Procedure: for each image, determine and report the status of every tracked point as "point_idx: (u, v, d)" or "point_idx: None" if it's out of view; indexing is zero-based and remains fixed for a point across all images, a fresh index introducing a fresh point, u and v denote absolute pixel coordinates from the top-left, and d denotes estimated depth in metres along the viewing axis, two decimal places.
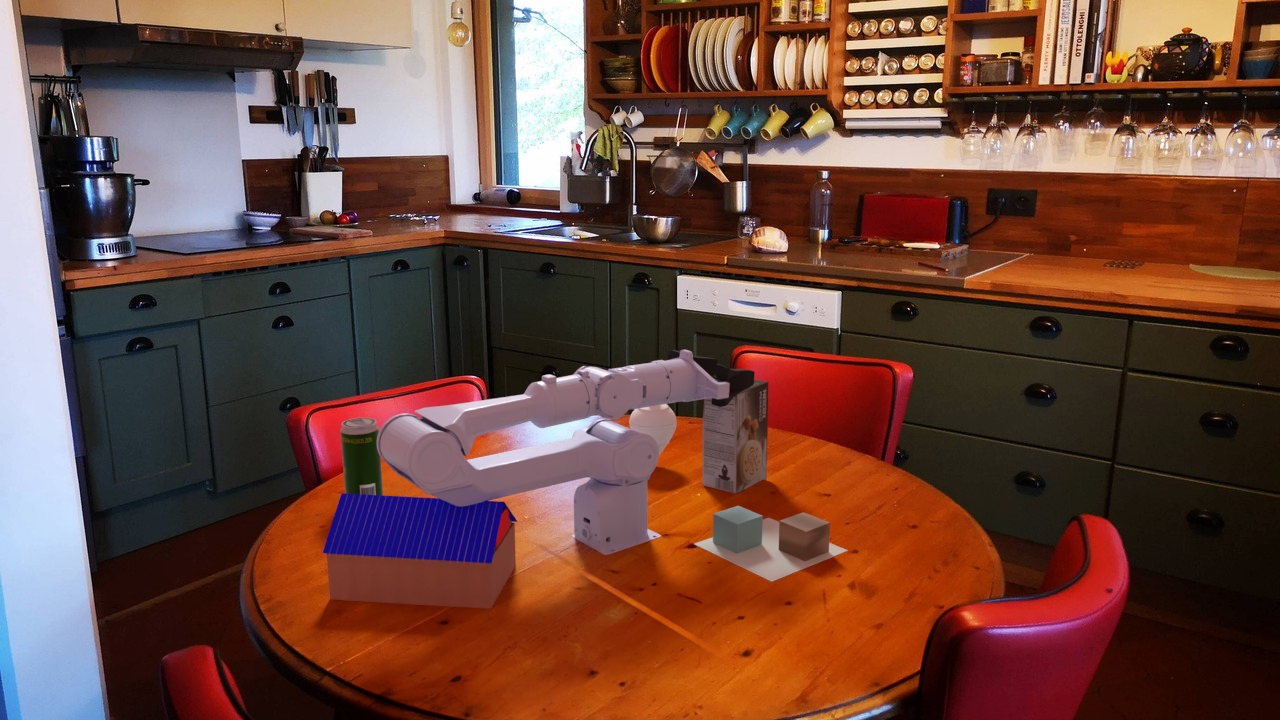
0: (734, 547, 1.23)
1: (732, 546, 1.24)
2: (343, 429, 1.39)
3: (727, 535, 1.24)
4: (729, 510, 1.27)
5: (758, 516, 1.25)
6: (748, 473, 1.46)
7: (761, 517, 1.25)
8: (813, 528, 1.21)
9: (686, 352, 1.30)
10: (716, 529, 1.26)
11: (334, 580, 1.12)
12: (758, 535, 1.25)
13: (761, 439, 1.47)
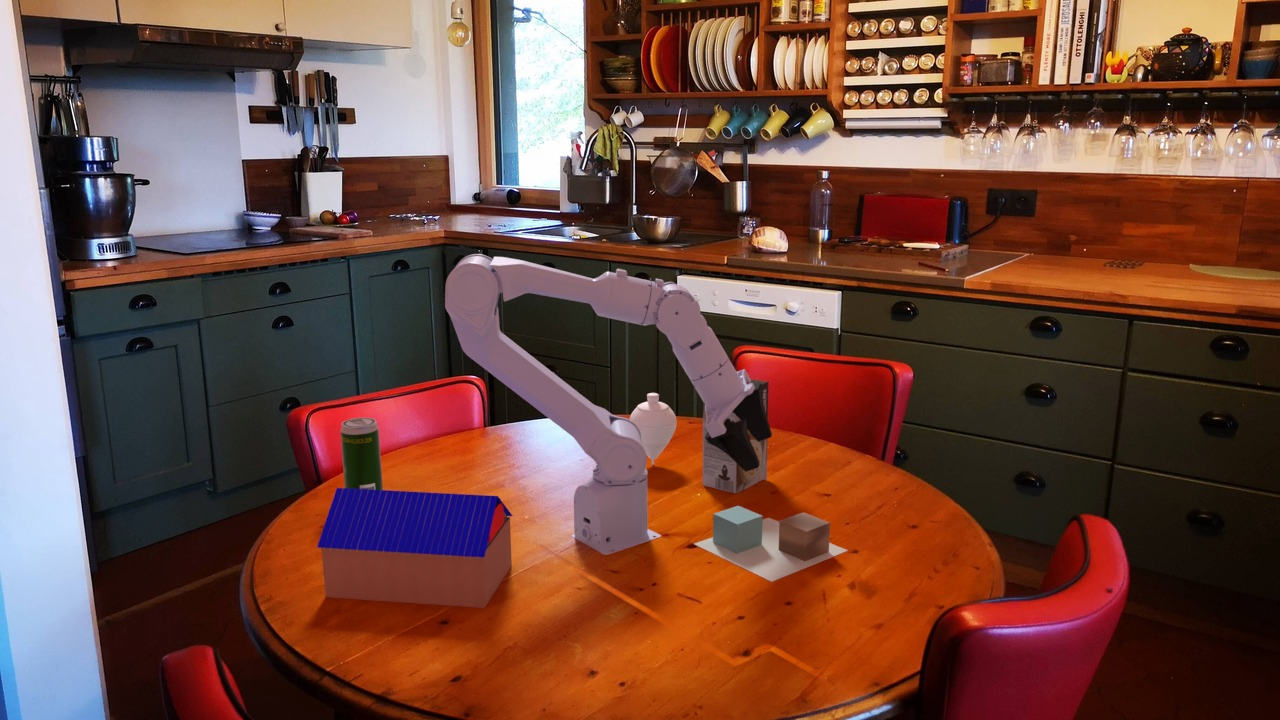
0: (734, 547, 1.23)
1: (732, 546, 1.24)
2: (343, 429, 1.39)
3: (727, 535, 1.24)
4: (729, 510, 1.27)
5: (758, 516, 1.25)
6: (748, 473, 1.46)
7: (761, 517, 1.25)
8: (813, 528, 1.21)
9: (750, 387, 1.24)
10: (716, 529, 1.26)
11: (329, 574, 1.13)
12: (758, 535, 1.25)
13: None
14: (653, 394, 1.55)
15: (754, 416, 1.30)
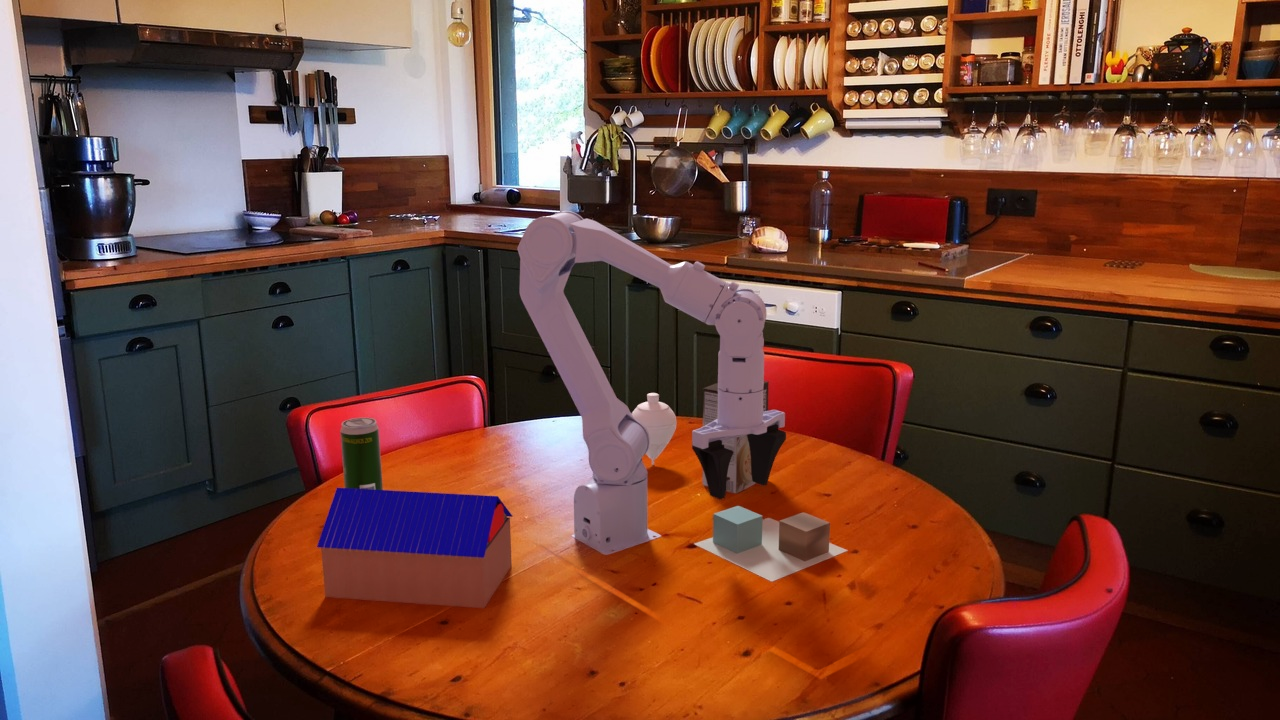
0: (734, 547, 1.23)
1: (732, 546, 1.24)
2: (343, 429, 1.39)
3: (727, 535, 1.24)
4: (729, 510, 1.27)
5: (758, 516, 1.25)
6: (748, 473, 1.46)
7: (761, 517, 1.25)
8: (813, 528, 1.21)
9: (759, 428, 1.19)
10: (716, 529, 1.26)
11: (329, 574, 1.13)
12: (758, 535, 1.25)
13: None
14: (653, 394, 1.55)
15: (761, 457, 1.26)
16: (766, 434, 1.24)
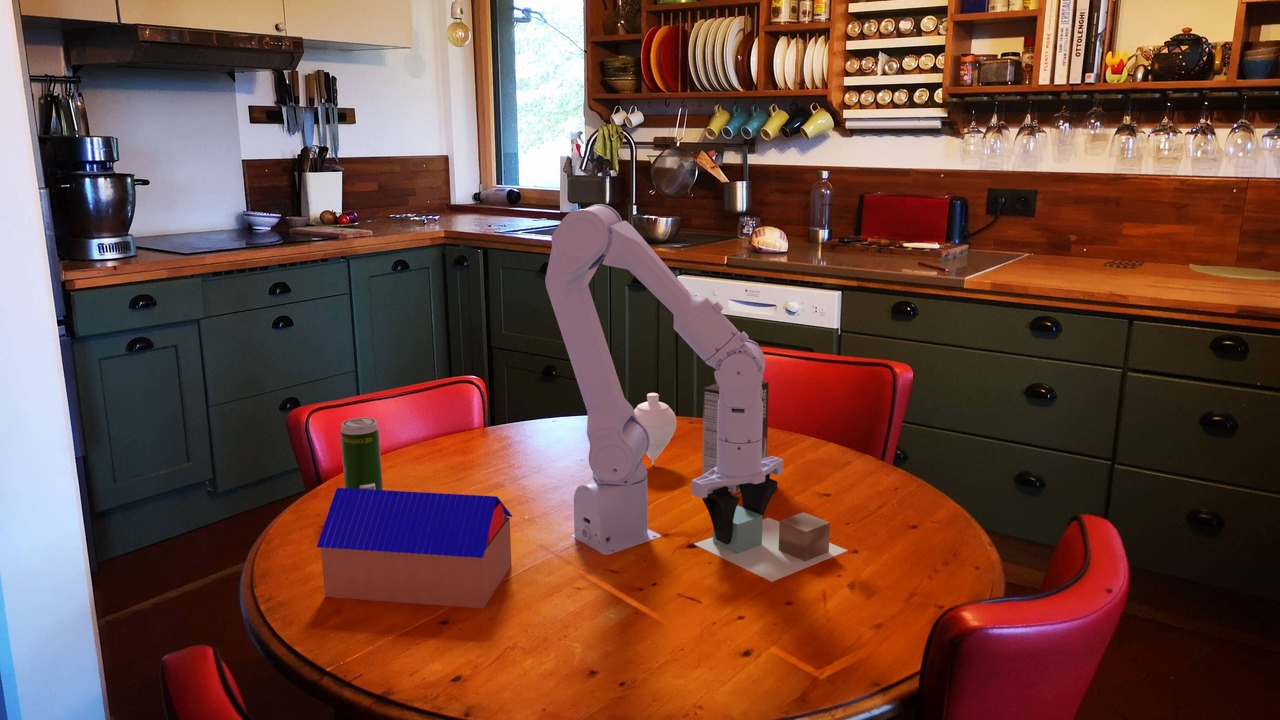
0: (734, 547, 1.23)
1: (732, 546, 1.24)
2: (343, 429, 1.39)
3: None
4: None
5: (758, 516, 1.25)
6: None
7: (761, 517, 1.25)
8: (813, 528, 1.21)
9: (758, 478, 1.21)
10: None
11: (328, 574, 1.13)
12: (758, 535, 1.25)
13: None
14: (653, 394, 1.55)
15: (753, 506, 1.26)
16: (758, 484, 1.25)
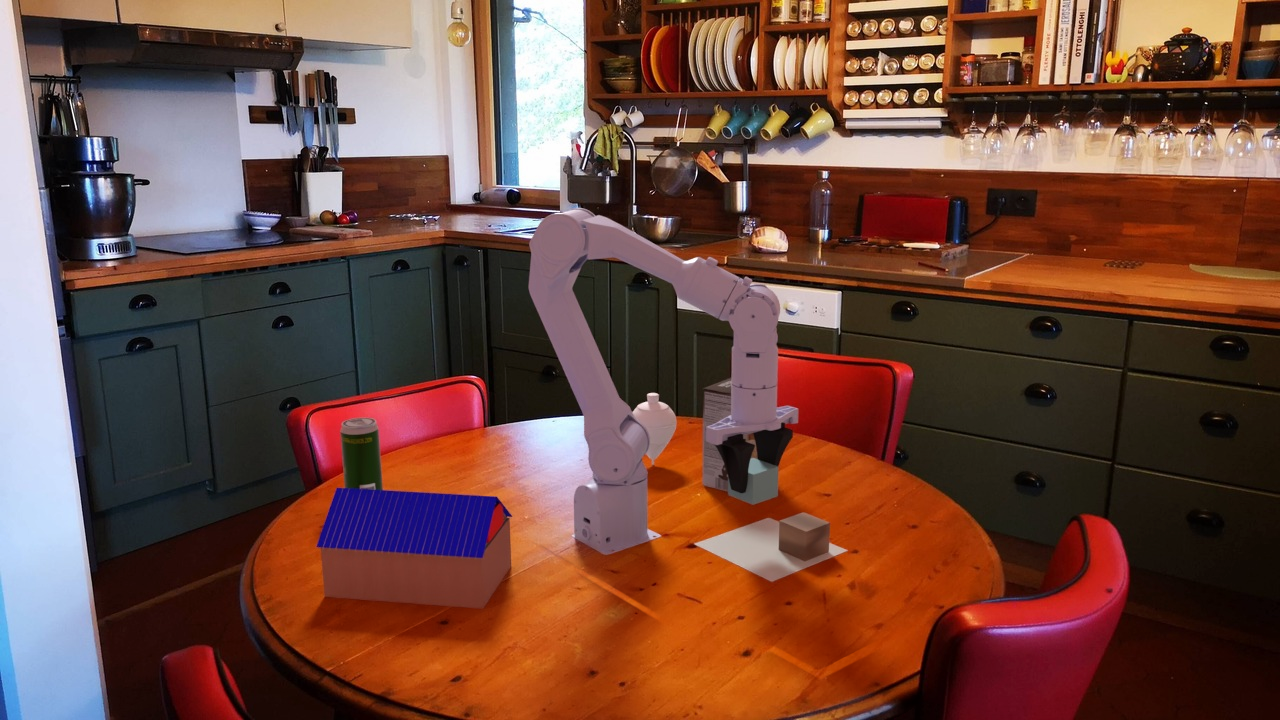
0: (750, 498, 1.21)
1: (748, 497, 1.21)
2: (343, 429, 1.39)
3: None
4: None
5: (774, 467, 1.23)
6: None
7: (777, 468, 1.23)
8: (813, 528, 1.21)
9: (773, 424, 1.19)
10: None
11: (328, 574, 1.13)
12: (774, 486, 1.23)
13: None
14: (653, 394, 1.55)
15: (768, 456, 1.24)
16: (773, 432, 1.23)
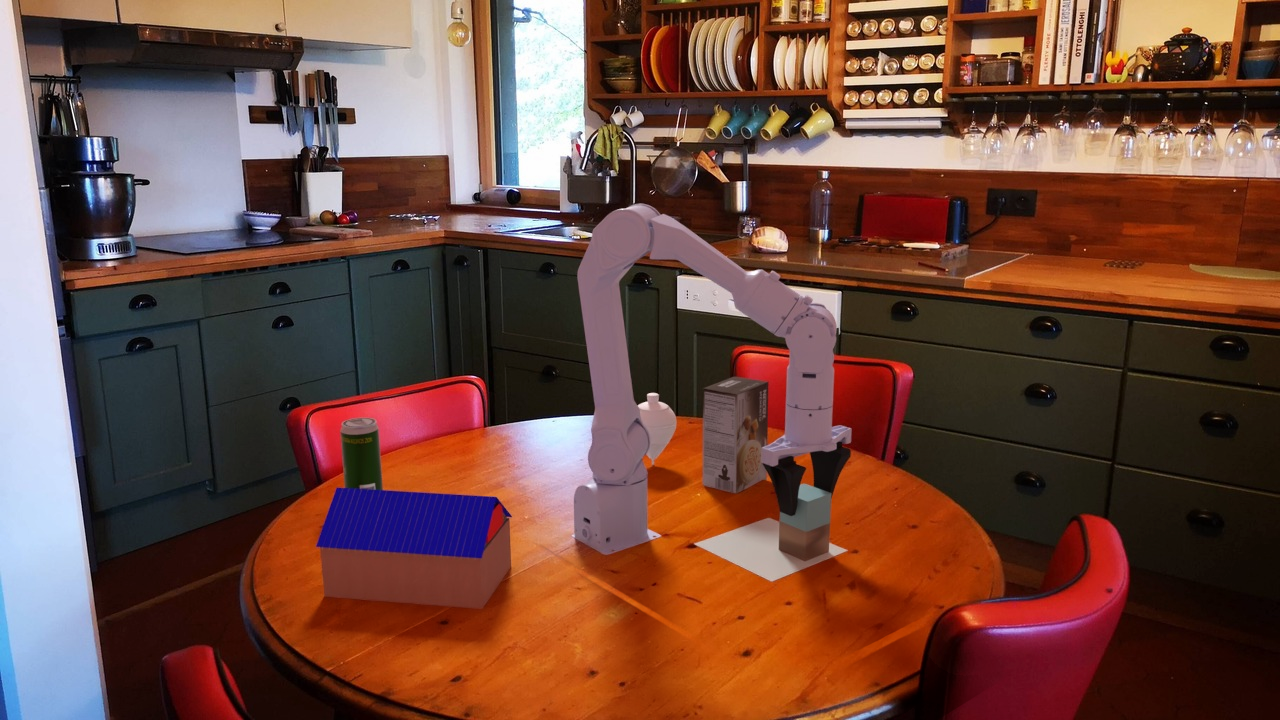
0: (803, 525, 1.20)
1: (802, 524, 1.20)
2: (343, 429, 1.39)
3: (795, 513, 1.21)
4: None
5: (827, 493, 1.22)
6: (748, 473, 1.46)
7: (830, 494, 1.22)
8: None
9: (829, 445, 1.17)
10: None
11: (328, 574, 1.13)
12: (827, 513, 1.22)
13: (761, 439, 1.47)
14: (653, 394, 1.55)
15: (825, 475, 1.23)
16: (831, 451, 1.22)
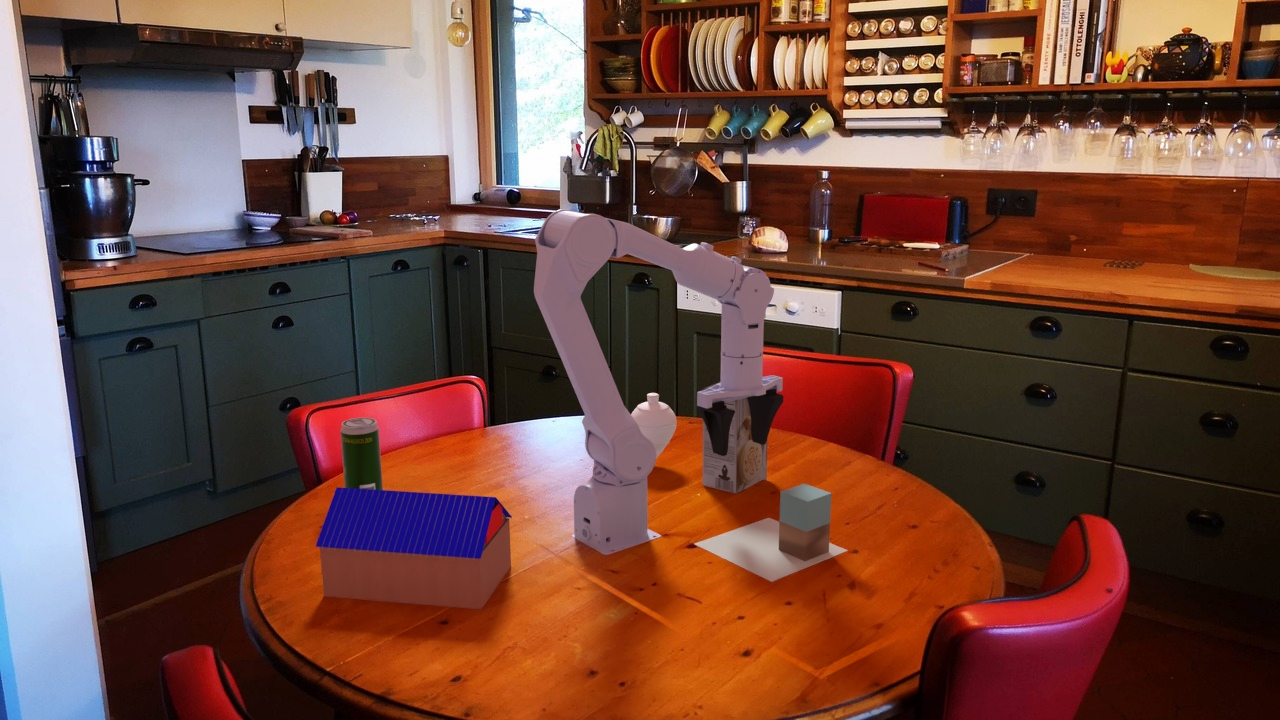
0: (803, 525, 1.20)
1: (802, 524, 1.20)
2: (343, 429, 1.39)
3: (795, 513, 1.21)
4: (796, 488, 1.23)
5: (827, 493, 1.22)
6: (748, 473, 1.46)
7: (830, 494, 1.22)
8: None
9: (759, 390, 1.30)
10: (783, 507, 1.22)
11: (327, 573, 1.13)
12: (827, 513, 1.22)
13: None
14: (653, 394, 1.55)
15: (760, 419, 1.36)
16: (765, 397, 1.35)
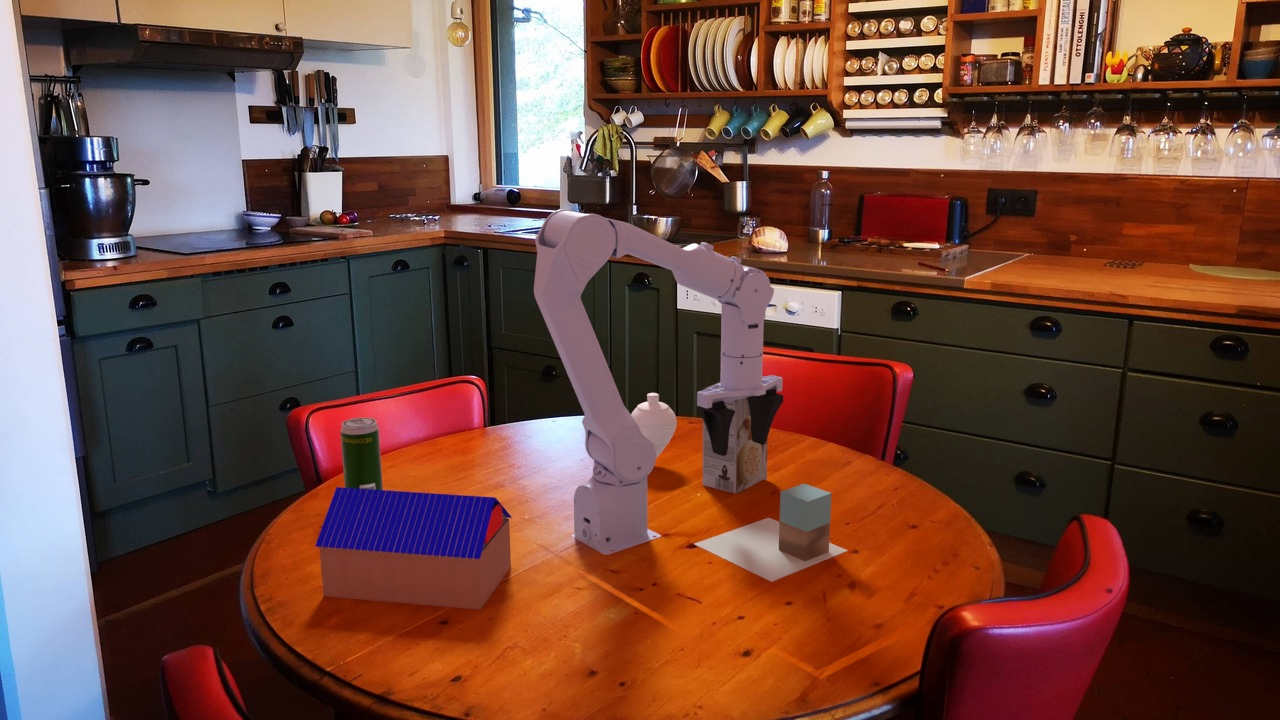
0: (803, 525, 1.20)
1: (802, 524, 1.20)
2: (343, 429, 1.39)
3: (795, 513, 1.21)
4: (796, 488, 1.23)
5: (827, 493, 1.22)
6: (748, 473, 1.46)
7: (830, 494, 1.22)
8: None
9: (759, 390, 1.30)
10: (783, 507, 1.22)
11: (327, 573, 1.13)
12: (827, 513, 1.22)
13: None
14: (653, 394, 1.55)
15: (760, 419, 1.36)
16: (765, 397, 1.35)
